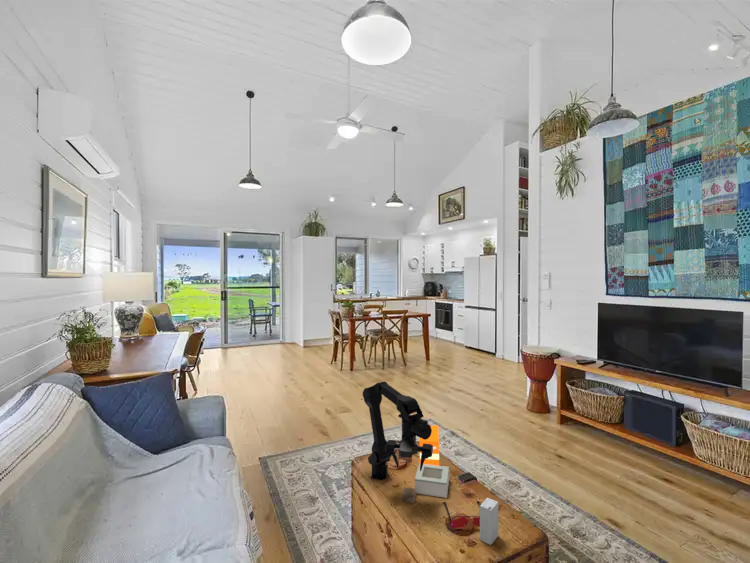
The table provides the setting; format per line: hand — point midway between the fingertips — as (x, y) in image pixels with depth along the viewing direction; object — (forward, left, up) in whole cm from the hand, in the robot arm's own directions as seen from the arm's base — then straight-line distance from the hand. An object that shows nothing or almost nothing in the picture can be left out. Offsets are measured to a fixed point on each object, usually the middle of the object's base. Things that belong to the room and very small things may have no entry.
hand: (409, 469), depth 148 cm
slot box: (+8, +10, -12) cm, 17 cm away
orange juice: (+5, +25, -12) cm, 28 cm away
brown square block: (0, 0, -12) cm, 12 cm away
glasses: (+22, -6, -12) cm, 26 cm away
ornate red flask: (-8, +29, -12) cm, 32 cm away
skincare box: (+30, -16, -12) cm, 36 cm away
